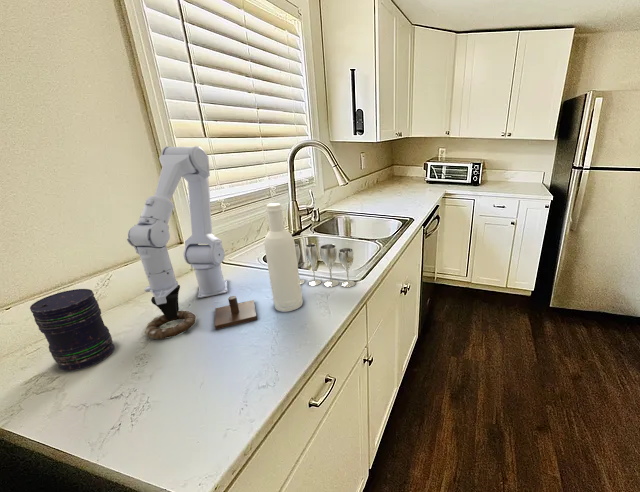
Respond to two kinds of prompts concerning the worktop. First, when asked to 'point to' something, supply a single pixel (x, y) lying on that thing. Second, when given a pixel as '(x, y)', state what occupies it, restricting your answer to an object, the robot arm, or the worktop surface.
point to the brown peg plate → (234, 313)
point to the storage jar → (73, 329)
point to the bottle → (282, 262)
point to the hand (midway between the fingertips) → (173, 315)
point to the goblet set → (328, 261)
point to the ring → (171, 331)
